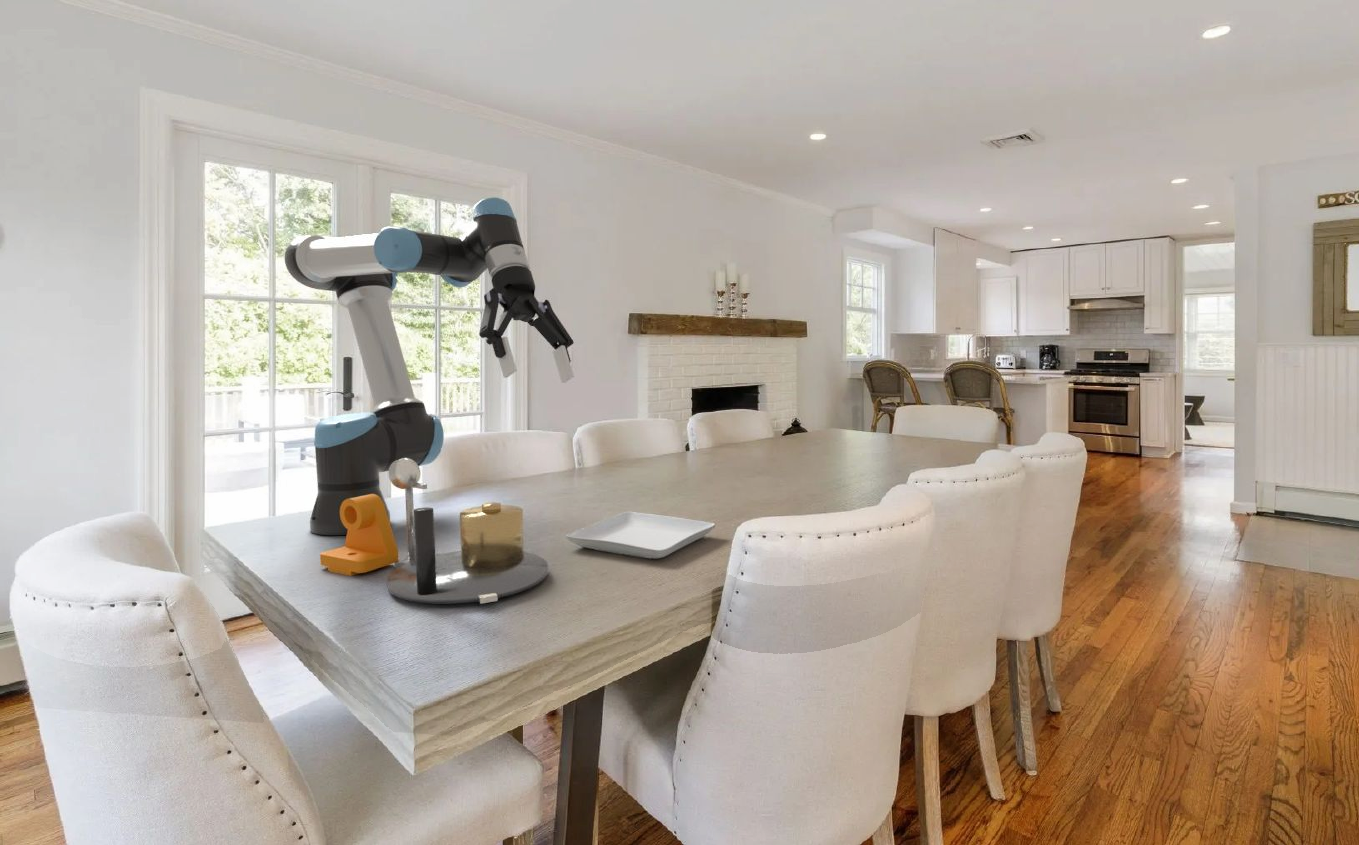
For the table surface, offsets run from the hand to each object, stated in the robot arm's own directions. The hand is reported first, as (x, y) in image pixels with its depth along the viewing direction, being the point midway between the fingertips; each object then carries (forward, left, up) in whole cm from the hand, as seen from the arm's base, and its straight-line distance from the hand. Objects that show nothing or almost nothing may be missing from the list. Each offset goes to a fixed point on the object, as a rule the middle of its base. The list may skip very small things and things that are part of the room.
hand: (540, 377), depth 124 cm
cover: (-5, -13, -30) cm, 33 cm away
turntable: (-6, -19, -31) cm, 37 cm away
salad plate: (+17, +6, -32) cm, 37 cm away
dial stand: (-19, -12, -31) cm, 39 cm away
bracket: (-28, -14, -32) cm, 45 cm away
